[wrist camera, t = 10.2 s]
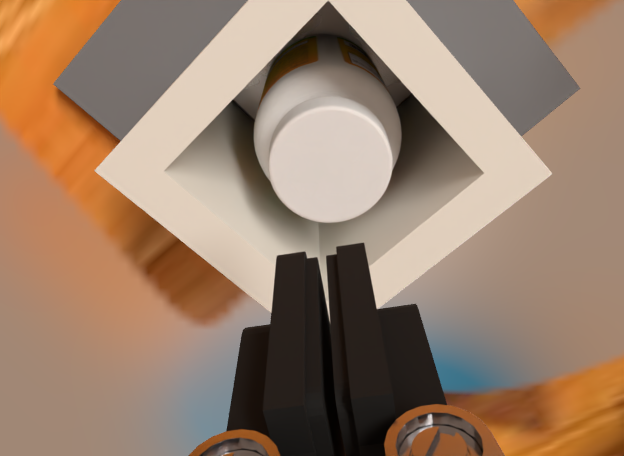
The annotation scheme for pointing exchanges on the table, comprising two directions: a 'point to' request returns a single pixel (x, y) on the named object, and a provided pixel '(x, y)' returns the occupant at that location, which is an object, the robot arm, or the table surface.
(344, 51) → the supplement bottle
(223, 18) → the mat
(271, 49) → the sleeve
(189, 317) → the table surface
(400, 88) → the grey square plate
